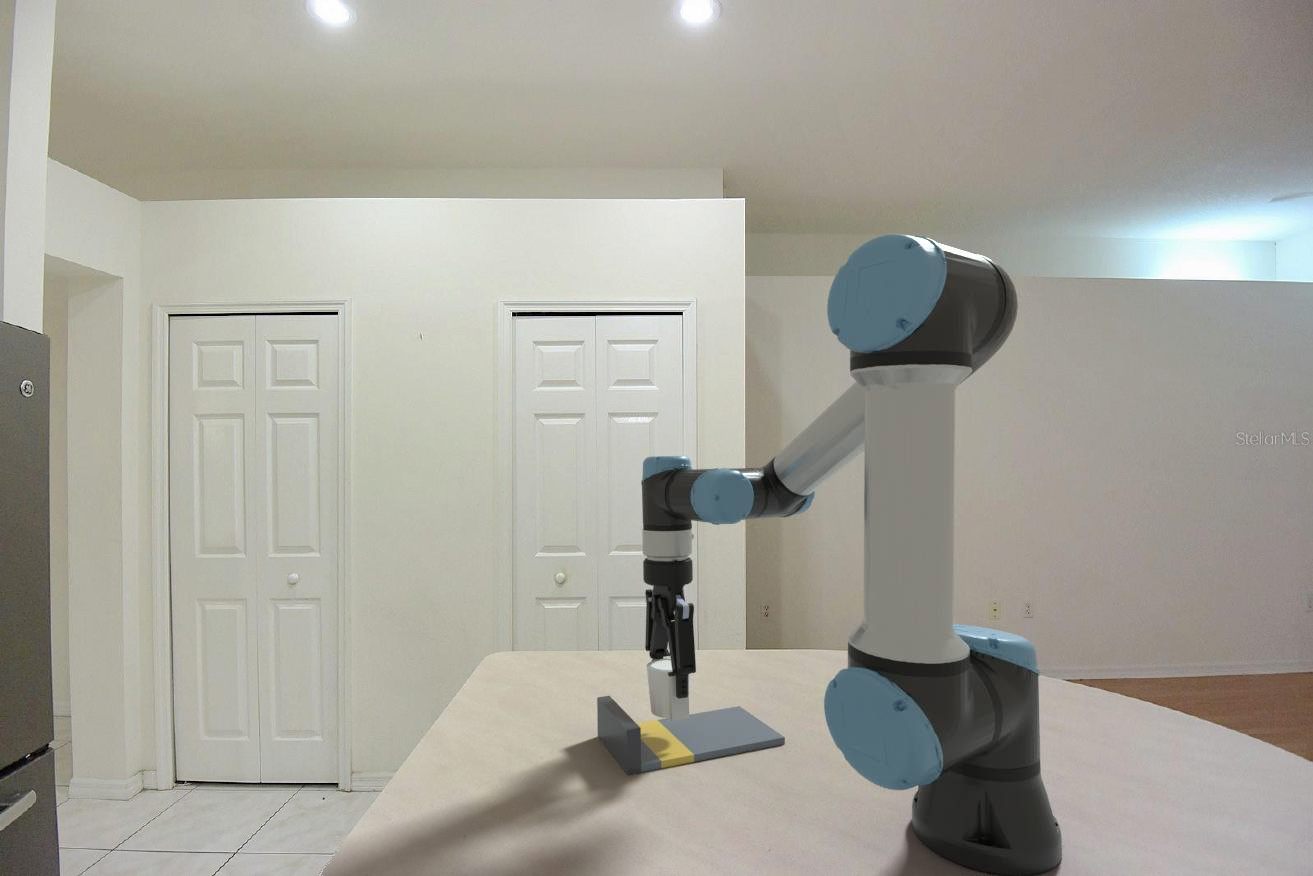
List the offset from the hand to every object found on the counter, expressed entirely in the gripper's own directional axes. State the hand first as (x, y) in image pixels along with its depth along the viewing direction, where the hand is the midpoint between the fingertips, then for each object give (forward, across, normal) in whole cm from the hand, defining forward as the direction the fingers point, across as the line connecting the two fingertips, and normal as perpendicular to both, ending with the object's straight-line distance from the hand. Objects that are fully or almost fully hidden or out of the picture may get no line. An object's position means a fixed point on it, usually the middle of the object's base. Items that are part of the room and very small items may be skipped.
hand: (669, 709), depth 102 cm
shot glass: (0, 0, 0) cm, 0 cm away
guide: (+5, 0, -3) cm, 6 cm away
